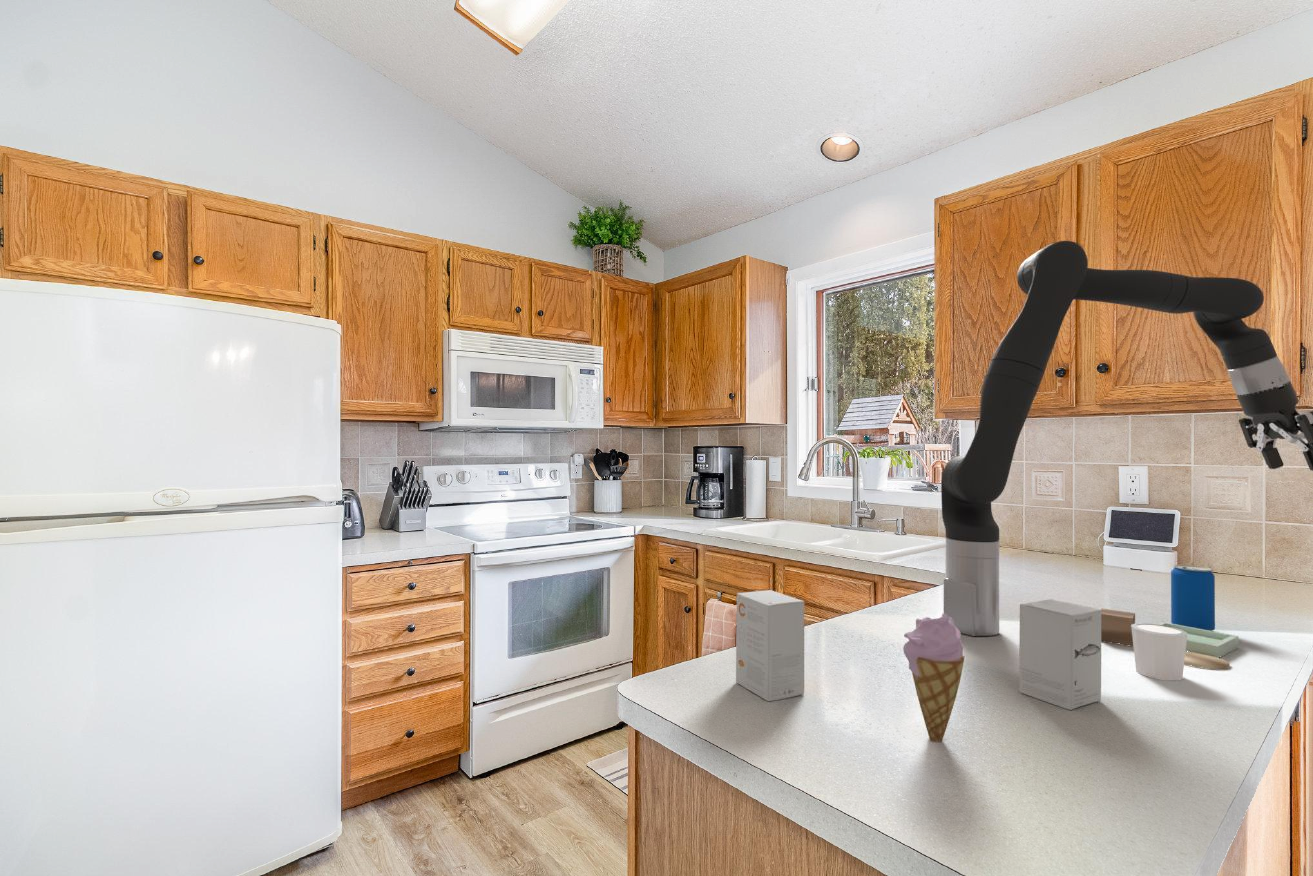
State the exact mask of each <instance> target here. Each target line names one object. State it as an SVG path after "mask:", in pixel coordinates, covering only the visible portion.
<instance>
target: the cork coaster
mask: <svg viewBox="0 0 1313 876" xmlns="http://www.w3.org/2000/svg"><path fill="white" fill-rule="evenodd" d="M1184 664H1186V665H1185V666H1187V665H1192V666H1195V667H1194V668H1197V667H1203V668H1202V669H1204V668H1209V669H1208V670H1214V669H1223V670H1228V669H1229V668H1230V662H1228V661H1227V660H1225V659H1223V658H1221V657H1220V658H1217V657H1214V656H1210V655H1206V654H1201V653H1195V652H1187V651H1185V660H1184ZM1192 666H1191V667H1192ZM1227 668H1228V669H1227Z"/></svg>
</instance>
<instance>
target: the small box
mask: <svg viewBox="0 0 1313 876" xmlns="http://www.w3.org/2000/svg"><path fill="white" fill-rule="evenodd" d="M735 627H736V630H735V631H736V637H735V638H736V639H735V641H736V642H735V643H736V644H735V646H736V647H735V683H736V684H738V685H740V686H741V687H743V688H744V689H747V690H748V691H750V692H752V693H753V694H755V695H757V696H758V697H760V698H762V699H763V700H765V701H766V702H774V701H777V700H784V699H788V698H792V697H793V698H794V697H797V696H801V695H805V601H804V600H802V599H800V598H799V599H798V598H796V597H793V596H790V595H787V594H783V593H780V592H777V591H776V590H775V591H774V590H772V589H768V590H767V589H766V590H757V591H746V592H737V593H736V625H735Z"/></svg>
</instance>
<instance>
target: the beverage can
mask: <svg viewBox="0 0 1313 876" xmlns="http://www.w3.org/2000/svg"><path fill="white" fill-rule="evenodd" d="M1173 567H1174V568H1173V569H1172V570H1171V571H1170V609H1171V610H1170V614H1171V615H1170V618H1171V619H1170V621H1171V622H1170V623H1171V624H1177V625H1182V626H1187V627H1193V628H1198V629H1203V630H1209V631H1214V630H1215V629H1216V612H1215V611H1216V591H1215V590H1216V586H1215V585H1216V583H1215V582H1216V581H1215V580H1216V578H1215V574H1214V573H1213V571H1212V568H1209V567H1205V566H1202V565H1201V566H1199V565H1192V564H1191V565H1190V564H1175V565H1173Z"/></svg>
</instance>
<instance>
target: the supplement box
mask: <svg viewBox="0 0 1313 876" xmlns="http://www.w3.org/2000/svg"><path fill="white" fill-rule="evenodd" d="M1018 645H1019V647H1018V649H1019V659H1018V661H1019V663H1018V668H1019V669H1018V675H1019V677H1018V678H1019V679H1018V681H1019V682H1018V685H1019V686H1018V691H1019V693H1021V694H1023V695H1026V696H1029V697H1032V698H1035V699H1037V700H1041V701H1044V702H1046V703H1049V704H1051V705H1055V706H1056V707H1060V708H1062V709H1065V710H1070V711H1072V710H1075V709H1076V708H1080V707H1082V706H1085V705H1090V704H1093V703H1098V702H1100V701H1102V641H1101V609H1100V608H1096V607H1095V608H1094V607H1091V606H1087V605H1081V604H1077V603H1071V602H1065V601H1060V600H1056V599H1044V600H1043V599H1042V600H1038V601H1032V602H1025V603H1020V604H1019V644H1018Z"/></svg>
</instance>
